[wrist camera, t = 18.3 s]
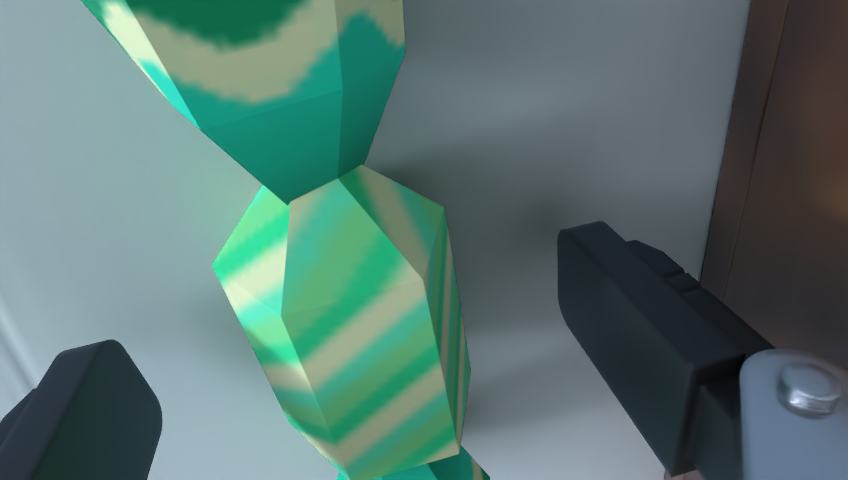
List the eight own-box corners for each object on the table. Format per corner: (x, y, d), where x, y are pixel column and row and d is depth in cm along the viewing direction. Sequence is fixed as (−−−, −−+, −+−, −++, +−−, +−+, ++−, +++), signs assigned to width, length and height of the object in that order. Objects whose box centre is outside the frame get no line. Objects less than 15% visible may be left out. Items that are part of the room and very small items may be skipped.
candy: (22, -36, 6) (136, -86, 3) (271, -76, 8) (476, -127, 5) (310, 508, 12) (428, 642, 10) (407, 415, 14) (528, 506, 11)
